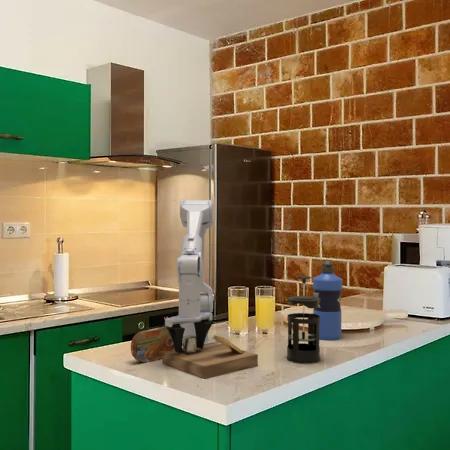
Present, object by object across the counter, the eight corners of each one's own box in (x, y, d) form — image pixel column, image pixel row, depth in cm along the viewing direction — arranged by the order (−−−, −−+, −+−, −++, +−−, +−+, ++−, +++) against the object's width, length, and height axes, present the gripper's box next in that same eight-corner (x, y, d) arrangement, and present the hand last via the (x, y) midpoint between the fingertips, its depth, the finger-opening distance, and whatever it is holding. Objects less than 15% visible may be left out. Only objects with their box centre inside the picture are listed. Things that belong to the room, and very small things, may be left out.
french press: (309, 366, 150) (310, 279, 150) (278, 360, 156) (279, 276, 155) (329, 357, 160) (330, 275, 159) (299, 351, 165) (300, 272, 165)
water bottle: (338, 334, 190) (338, 259, 189) (344, 340, 180) (345, 261, 180) (310, 334, 189) (310, 258, 189) (315, 340, 180) (316, 261, 179)
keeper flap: (212, 338, 149) (214, 334, 149) (232, 351, 154) (234, 348, 154) (222, 340, 146) (224, 337, 146) (242, 354, 151) (244, 351, 151)
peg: (180, 362, 153) (180, 336, 153) (190, 360, 155) (190, 334, 155) (188, 365, 150) (188, 339, 150) (199, 363, 153) (199, 337, 153)
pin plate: (162, 363, 152) (162, 352, 152) (214, 352, 164) (214, 342, 164) (204, 378, 139) (204, 366, 138) (257, 365, 150) (257, 354, 150)
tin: (135, 365, 150) (135, 333, 150) (128, 363, 152) (128, 331, 152) (178, 355, 161) (178, 325, 161) (171, 353, 163) (171, 323, 163)
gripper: (176, 304, 145) (176, 357, 145) (219, 298, 154) (219, 348, 155) (160, 300, 150) (160, 352, 150) (203, 295, 160) (203, 343, 160)
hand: (189, 350), depth 153 cm, fingers open, 7 cm apart
